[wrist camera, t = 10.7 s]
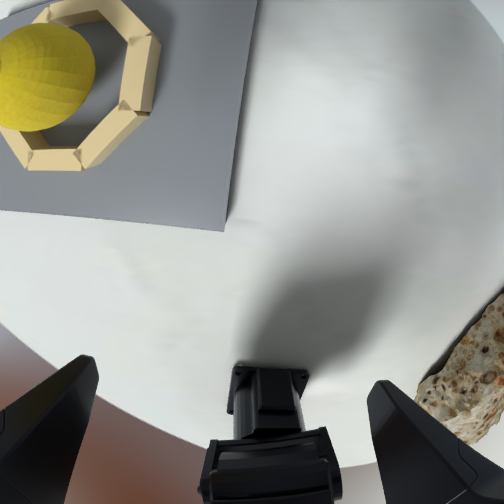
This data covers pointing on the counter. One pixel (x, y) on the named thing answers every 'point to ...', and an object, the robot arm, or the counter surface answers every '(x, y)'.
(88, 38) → the plate
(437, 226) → the counter surface
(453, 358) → the rock
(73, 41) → the lemon
